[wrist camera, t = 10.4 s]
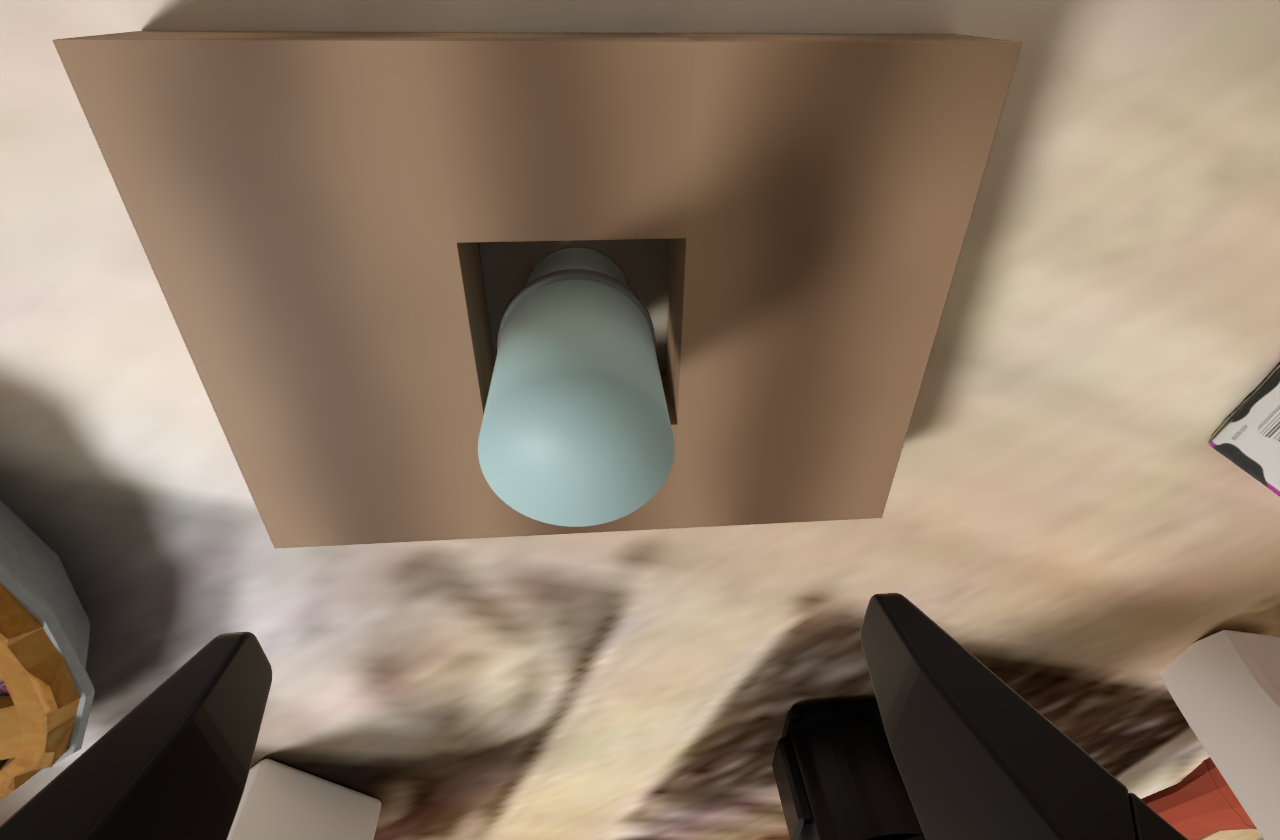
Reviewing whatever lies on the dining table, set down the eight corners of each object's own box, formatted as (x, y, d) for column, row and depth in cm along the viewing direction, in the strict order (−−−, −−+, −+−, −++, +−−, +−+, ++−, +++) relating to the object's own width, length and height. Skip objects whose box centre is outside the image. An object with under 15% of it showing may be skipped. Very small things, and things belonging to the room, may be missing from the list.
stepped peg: (645, 230, 19) (683, 362, 12) (644, 356, 21) (674, 524, 14) (501, 232, 18) (458, 369, 12) (516, 359, 21) (487, 534, 14)
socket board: (955, 34, 16) (1021, 43, 14) (850, 463, 24) (881, 517, 22) (139, 31, 15) (52, 39, 13) (307, 487, 23) (274, 548, 20)
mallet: (1010, 990, 44) (1493, 883, 25) (966, 991, 43) (1427, 882, 24) (949, 815, 52) (1279, 629, 32) (910, 814, 51) (1224, 623, 32)
